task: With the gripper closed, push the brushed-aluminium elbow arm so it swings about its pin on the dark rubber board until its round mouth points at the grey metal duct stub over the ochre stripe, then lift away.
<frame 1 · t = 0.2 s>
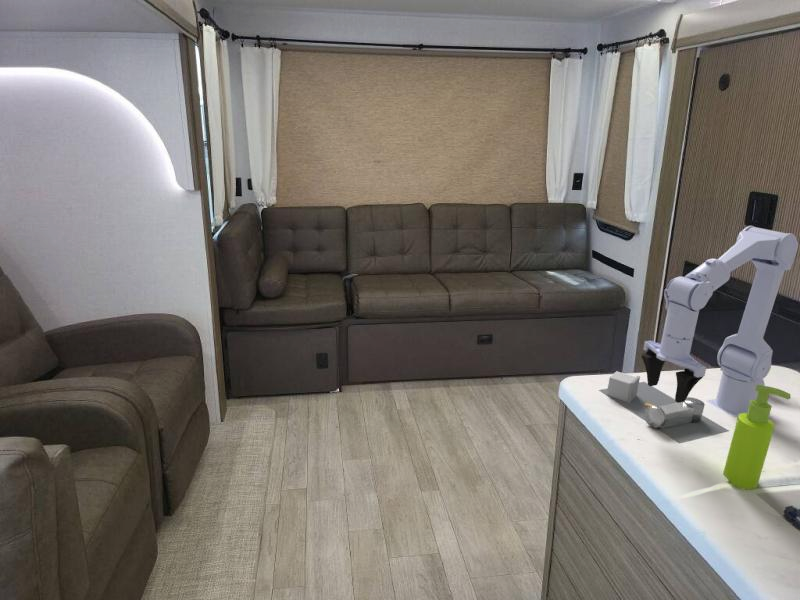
hand: (665, 393, 122), 10 cm above the worktop, fingers open, 7 cm apart
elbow: (676, 412, 128), point 3 cm above the worktop, hinge at 0.0°
duct board: (659, 411, 134), on the worktop
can: (737, 382, 152), on the worktop
soap dispenser: (742, 481, 110), on the worktop
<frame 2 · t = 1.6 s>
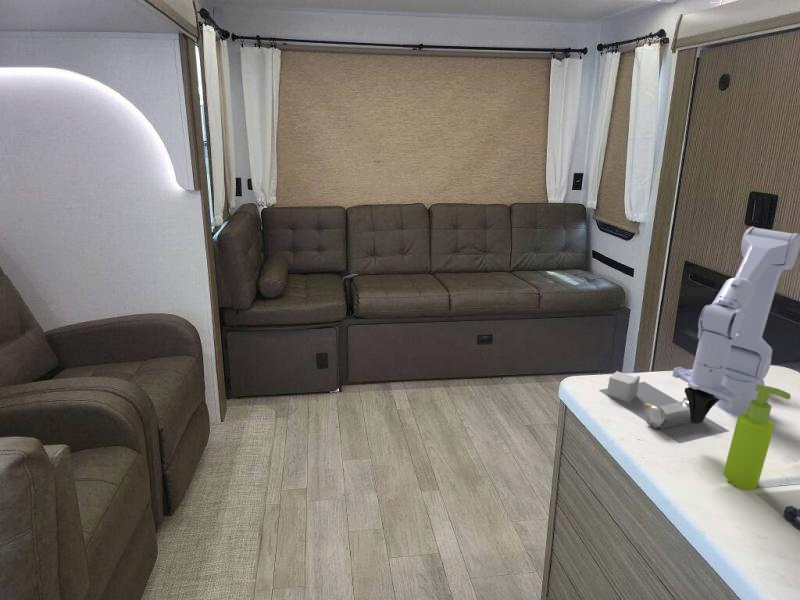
hand: (696, 421, 119), 6 cm above the worktop, fingers closed
nothing on the worktop moved.
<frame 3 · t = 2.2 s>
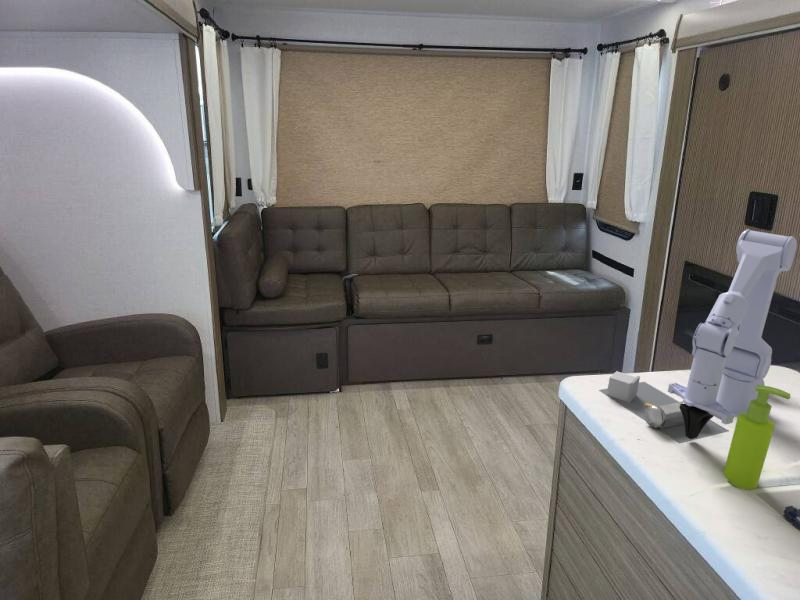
hand: (691, 436, 121), 2 cm above the worktop, fingers closed
nothing on the worktop moved.
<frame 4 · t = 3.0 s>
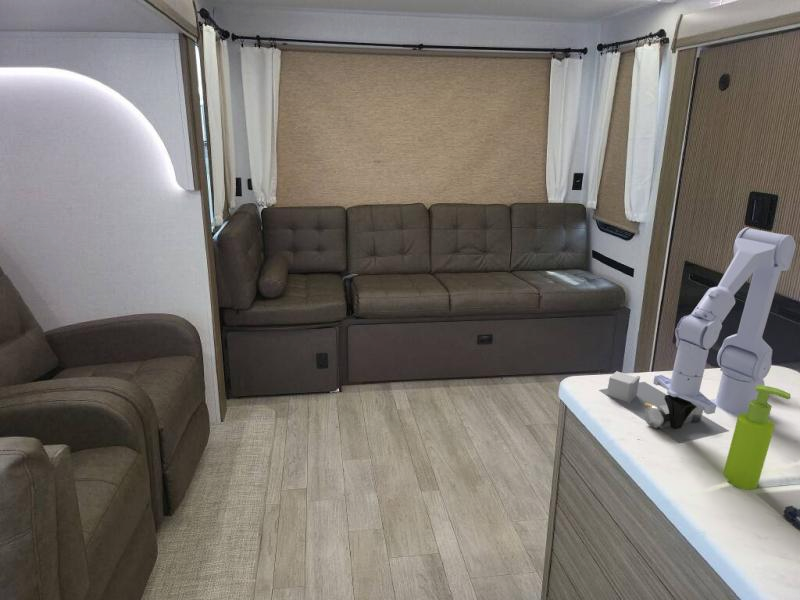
hand: (675, 427, 125), 2 cm above the worktop, fingers closed
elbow: (676, 412, 128), point 3 cm above the worktop, hinge at 0.0°, touching gripper
everything else where it was.
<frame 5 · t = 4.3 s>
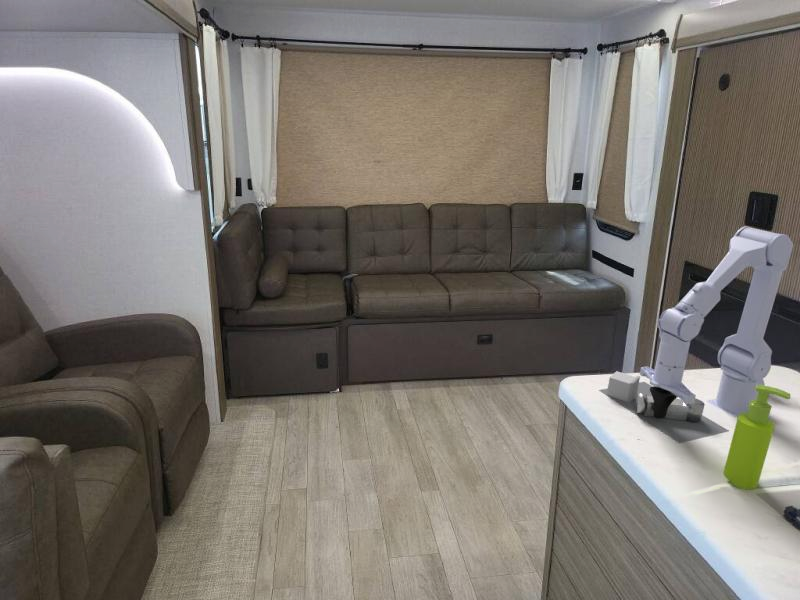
hand: (659, 417, 128), 2 cm above the worktop, fingers closed
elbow: (669, 406, 130), point 3 cm above the worktop, hinge at -31.2°, touching gripper
everything else where it was.
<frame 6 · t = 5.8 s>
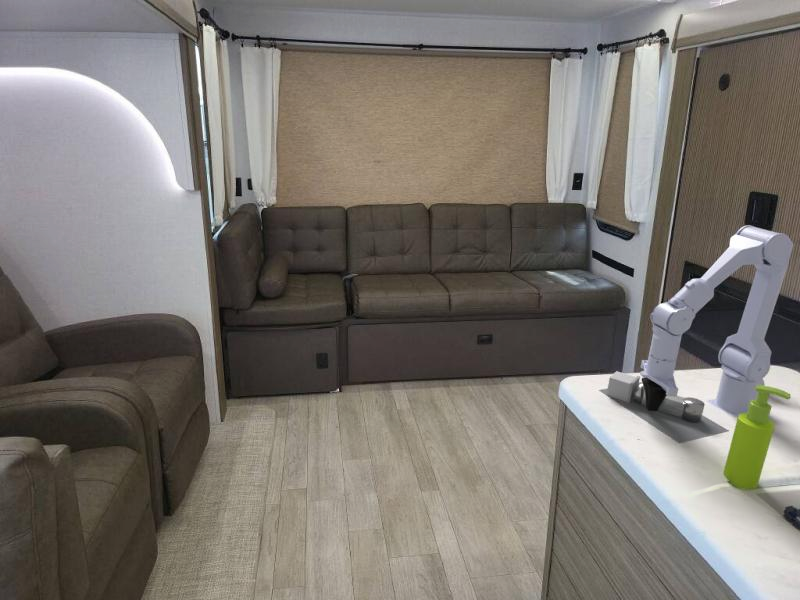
hand: (651, 409, 132), 2 cm above the worktop, fingers closed
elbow: (669, 401, 133), point 3 cm above the worktop, hinge at -60.7°
everything else where it was.
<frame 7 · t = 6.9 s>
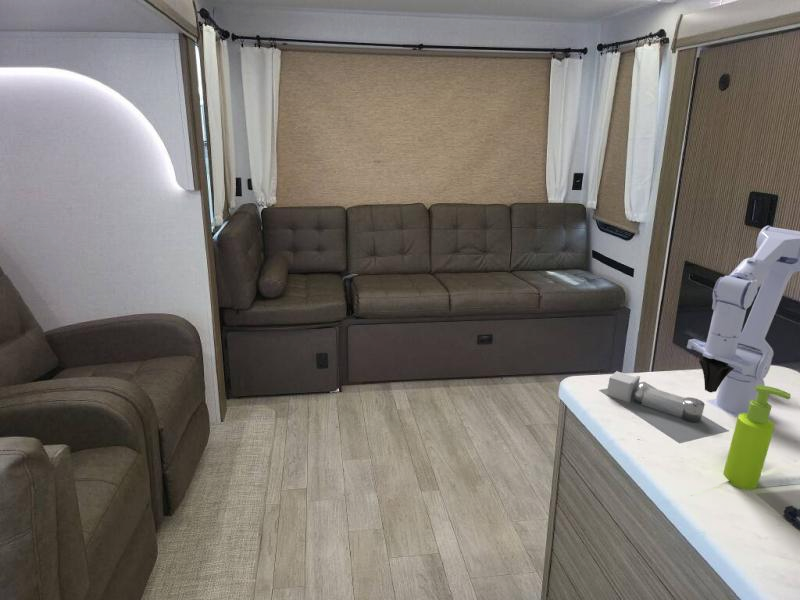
hand: (710, 390, 124), 10 cm above the worktop, fingers closed
nothing on the worktop moved.
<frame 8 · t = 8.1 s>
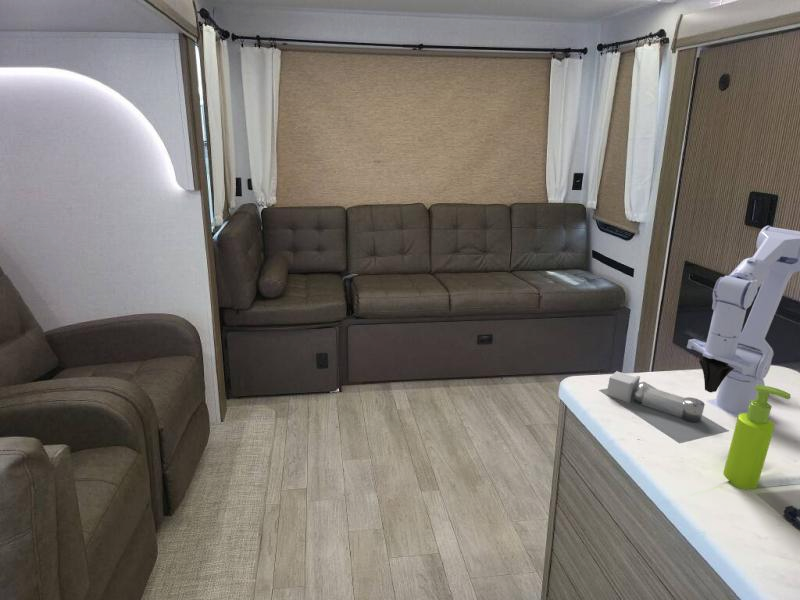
hand: (710, 390, 124), 10 cm above the worktop, fingers closed
nothing on the worktop moved.
at the end: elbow at -61° (first picture: +0°) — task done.
